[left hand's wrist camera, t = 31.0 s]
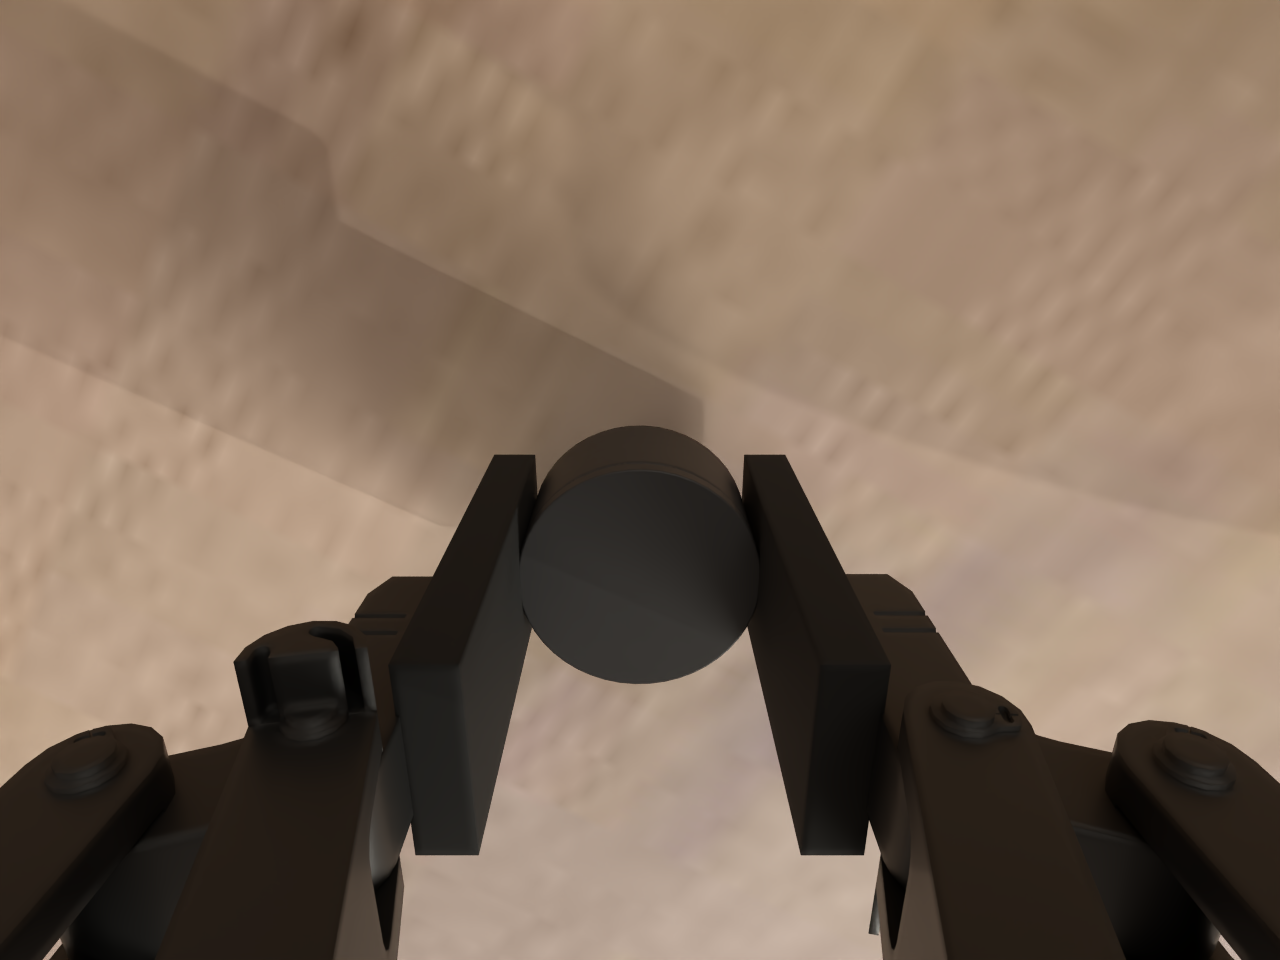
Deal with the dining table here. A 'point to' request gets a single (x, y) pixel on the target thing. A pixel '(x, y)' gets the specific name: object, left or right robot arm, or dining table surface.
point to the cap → (639, 557)
